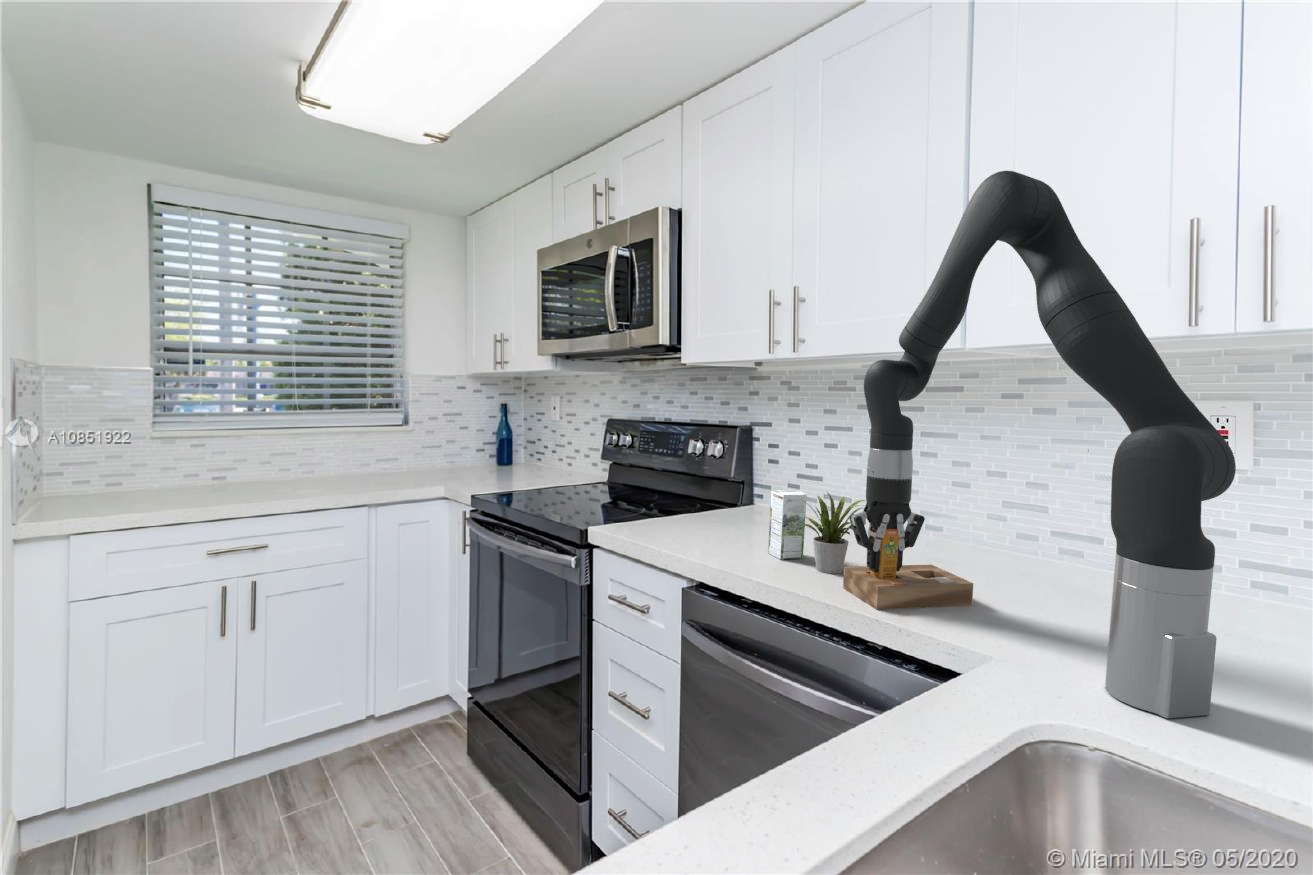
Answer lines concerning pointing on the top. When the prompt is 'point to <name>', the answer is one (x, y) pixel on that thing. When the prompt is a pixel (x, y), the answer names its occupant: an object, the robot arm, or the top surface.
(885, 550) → the supplement box
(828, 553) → the house plant
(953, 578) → the socket board
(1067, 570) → the top surface
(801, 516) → the syrup box
